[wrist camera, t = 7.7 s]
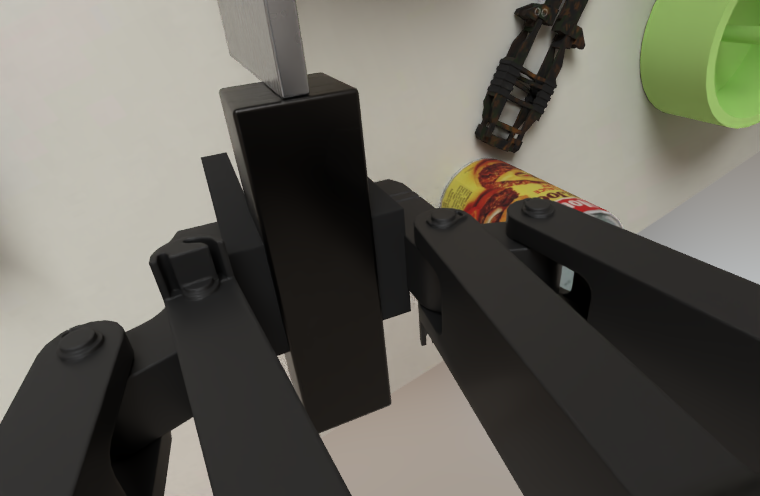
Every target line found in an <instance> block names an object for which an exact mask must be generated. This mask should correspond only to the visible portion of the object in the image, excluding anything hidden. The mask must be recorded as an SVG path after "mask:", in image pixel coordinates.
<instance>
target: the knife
mask: <svg viewBox="0 0 760 496" xmlns="http://www.w3.org/2000/svg"><path fill="white" fill-rule="evenodd" d="M587 2H588V0H566V1H565V3H564V5H563V7H562V9H561V12H560V14H559V15H558V17H557V19H556V22H555V24H554V26H553V28H552V30H553V31H555V32H556V33H558V35H555V38H554V40H553V42H552V44H551V46H550V48H549V50H548V53H547V55H546V57H545V59H544V61H543V63H542V65H541V68H540V70H539V72H538V74H537V75H535V74H533V73H532V72H530V71H529V70H527V69H526V68H524V67H523V64H524V62H525V60H526V57H527V55H528V53H529V51H530V49H531V46H532V44H533V42H534V40H535V38H536V35H537V33H538V31H539V29H540V27H541V25H542V24H543V25H548V26H552V25H553V22H554V20H555V18H556V16H557V14H558V12H559V10H558V9H559V7H560V5H561V3H562V0H539V2H538V4H534V3H531V4H529V5H526V6H523V7H521V8H518V9H516V11H515V13H514V14H515V15H517V16H519V17H520V18H522V19H524V20H526V22H525V24H524V29H523V31H522V32H521V33H520V34H519V35H518V36H517V38H516V39H515V40H514V41H513V42H512V45H511V47H510V49H509V51H508V54H507V56H506V57H505V58H503V59H501V60H500V65H499V66H498V67H497V72H496V73H494V79H493V80H491V85H490V87H488V89H487V90H488V92H487V94H486V97H485V99H484V101H483V102H484V109H483V114H482V115H483V121H482V123H481V124H479V125H478V127H477V129H476V131H475V134H476V138H478V139H480V140H482V141H483V142H485V143H487V144H489V145H492V146H494V147H497V148H499V149H502V150H504V151H507V152H508V151H510V152H513V153H515V152H517V151H518V150H519V149H520V147H521V145H522V143H523V142H522V139H523V136H524V134H525V132H526V131H527V130H528V129H529V128H530V127H531V126H532V124H533V123H534V122H535V121H536V120H537V121H539V119H540V117H541V115H542V114H543V113H544V109H545V108H546V107H547V103H548V101H550V99H551V98H550V96H551V95H553V93H554V91H553V90H554V88H556V87H557V85H556V78H557V76H558V74H559V72H560V70H561V68H562V65H563V58H564V52H565V48H567V49H570V48H578V49H584V47H585V42H584V36H583V31H582V28H580V27H579V26H577V23H578V21H579V19H580V17H581V14H582V12H583V10H584V8H585V6H586V4H587ZM528 33H530V34H529V35H528V36H527V34H528ZM526 36H527V37H526ZM525 38H526V39H525ZM555 49H559V51H558V53H557V55H556V57H555V59H554V54H555ZM553 60H554V61H553ZM519 73H523V74H525V75H527V76H528V77H530V78H531V79H532V80H534V82H533V81H530V80H528V79H526V78H524V77H521V76H520V74H519ZM516 79H518V80H520V81H522V82H525V83H527V84H529V85H531V86H530V87H531V89H528V88H527V87H525V86H524V85H522V84H521V83H519V82H518V81H516ZM514 85H515V86H517V87H519V88H520V89H522V90H523V91H525V92H526V93H528V95H527V97H525V99H524V100H525V102H524V101H522V100H520V99H518V98H516V97H514V96H512V95H510V93H511V91H513V89H514V88H513V86H514ZM507 99H508V100H510V101H512V102H514V103H516V104H518V105H520V106H522V108H521V110H520V113H519V115H518V117H517V119H516V121H515V123H514V125H513V127H511V126H509V125H507V124H505V123H502V122H500V121H498V119H499V117H500V115H501V112H502V110H503V108H504V106H505V104H506V101H507ZM524 121H525V122H524ZM488 122H490V125H489V128H488V127H486V125H487V123H488ZM523 122H524V124H523V127H522V129H521V130H518V128H519V127H520V126H521V125H522V123H523ZM496 125H497V126H499V127H501V128H504V129H506V130H509V131H511V132H510V134H509V136H508V138H507V140H504V139H502V138H499V137H497V136H495V135H492V132H493V130H494V128H495V126H496ZM515 133H516V134H519V135H518V137H517V139H515V138H513V137H514V135H515Z"/></svg>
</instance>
